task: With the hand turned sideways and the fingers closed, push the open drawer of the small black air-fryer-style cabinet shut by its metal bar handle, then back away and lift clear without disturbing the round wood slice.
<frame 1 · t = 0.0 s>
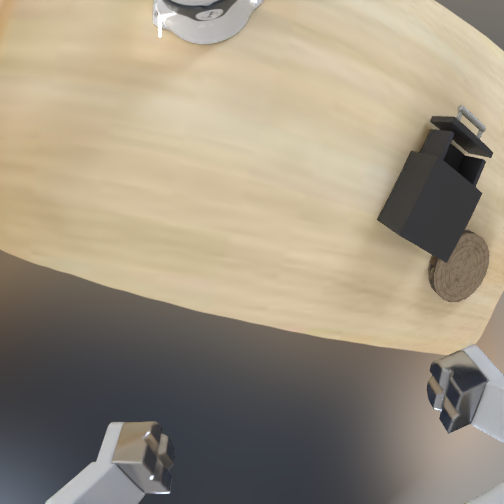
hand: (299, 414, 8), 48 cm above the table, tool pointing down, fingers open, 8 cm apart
drawer: (454, 154, 48), point 5 cm above the table, slide at 7.0 cm
cabinet: (418, 200, 56), on the table
round wood slice: (456, 263, 61), on the table
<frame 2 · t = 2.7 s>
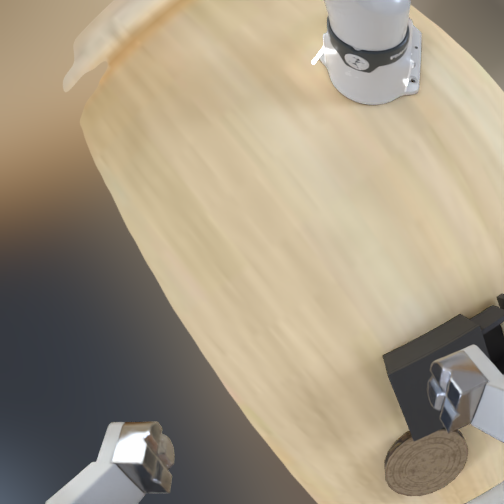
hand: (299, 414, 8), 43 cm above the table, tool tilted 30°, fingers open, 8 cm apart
drawer: (498, 342, 37), point 5 cm above the table, slide at 7.0 cm
cabinet: (434, 367, 44), on the table
round wood slice: (425, 456, 44), on the table
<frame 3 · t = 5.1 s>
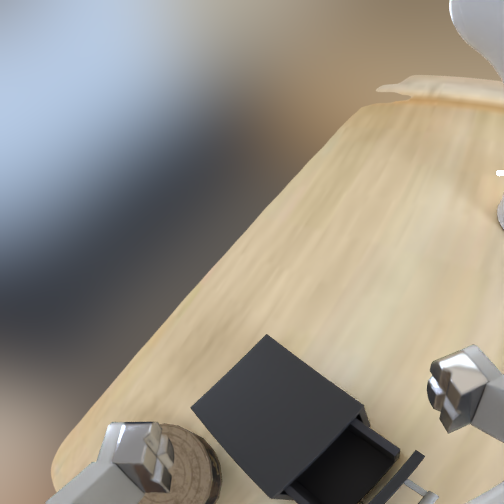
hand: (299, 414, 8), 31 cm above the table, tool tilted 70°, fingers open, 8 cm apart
drawer: (351, 479, 25), point 5 cm above the table, slide at 7.0 cm
cabinet: (293, 429, 36), on the table
round wood slice: (172, 478, 36), on the table
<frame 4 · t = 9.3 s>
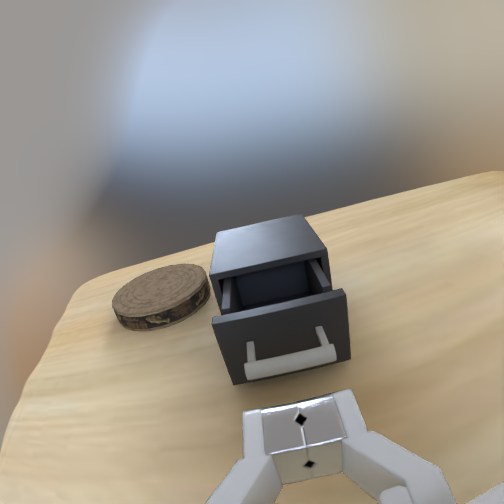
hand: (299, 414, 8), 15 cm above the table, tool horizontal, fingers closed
drawer: (280, 316, 32), point 5 cm above the table, slide at 7.0 cm
cabinet: (276, 301, 44), on the table
round wood slice: (164, 303, 51), on the table
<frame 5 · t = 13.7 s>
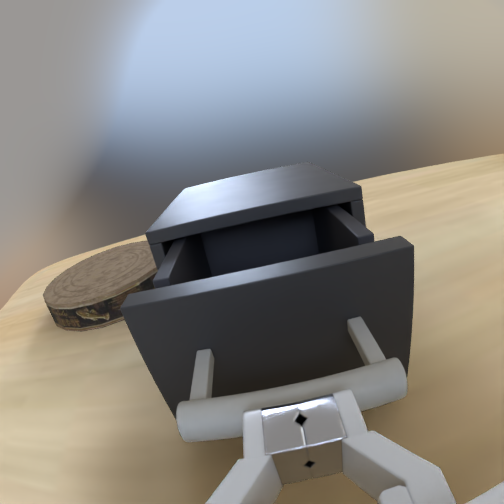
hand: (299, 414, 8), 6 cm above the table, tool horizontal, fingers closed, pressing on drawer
drawer: (272, 301, 17), point 5 cm above the table, slide at 5.9 cm, touching gripper
cabinet: (271, 290, 28), on the table
round wood slice: (113, 293, 35), on the table
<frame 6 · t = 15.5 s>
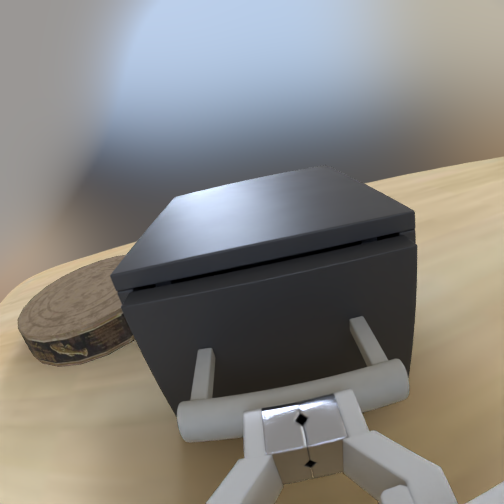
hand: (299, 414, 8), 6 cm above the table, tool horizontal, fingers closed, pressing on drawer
drawer: (274, 299, 17), point 5 cm above the table, slide at 0.0 cm, touching cabinet, gripper
cabinet: (280, 327, 22), on the table
round wood slice: (97, 317, 29), on the table
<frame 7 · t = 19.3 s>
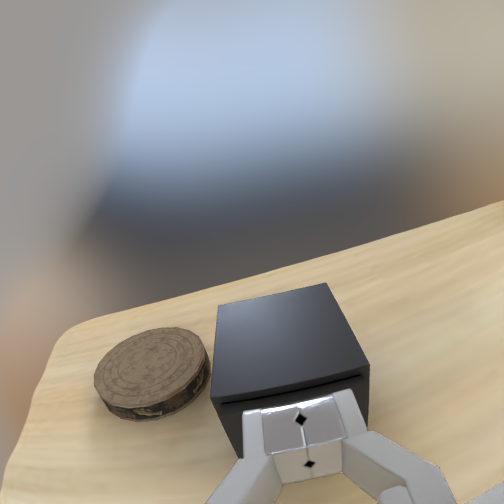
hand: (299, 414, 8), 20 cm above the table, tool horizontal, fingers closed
drawer: (292, 392, 28), point 5 cm above the table, slide at 0.0 cm
cabinet: (292, 395, 33), on the table
round wood slice: (155, 379, 40), on the table
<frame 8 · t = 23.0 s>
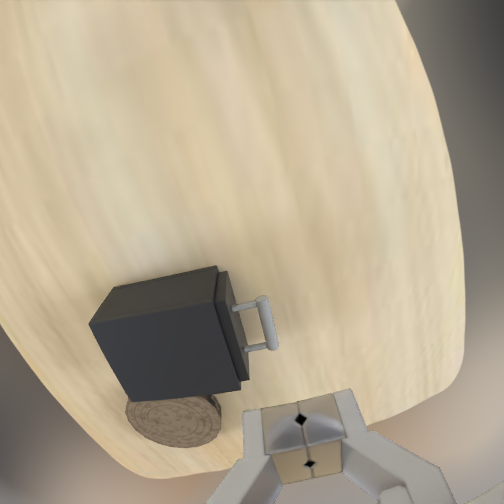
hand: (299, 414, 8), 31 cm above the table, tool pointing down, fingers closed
drawer: (200, 332, 38), point 5 cm above the table, slide at 0.0 cm
cabinet: (176, 318, 43), on the table
round wood slice: (174, 408, 49), on the table
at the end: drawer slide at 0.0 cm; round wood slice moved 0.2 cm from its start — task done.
